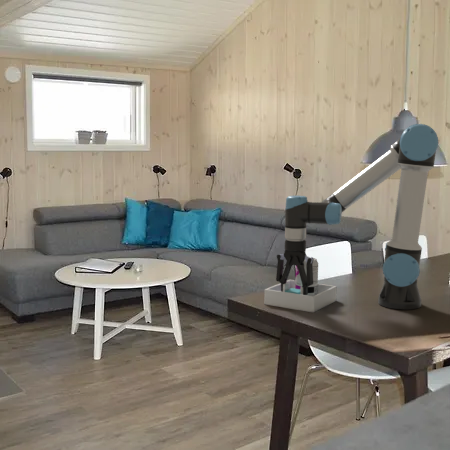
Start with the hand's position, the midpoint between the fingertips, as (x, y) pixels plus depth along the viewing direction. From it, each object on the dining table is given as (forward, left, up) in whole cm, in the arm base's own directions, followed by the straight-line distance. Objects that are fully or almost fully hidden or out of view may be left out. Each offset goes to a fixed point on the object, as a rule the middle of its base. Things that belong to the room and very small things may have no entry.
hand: (293, 302), depth 228 cm
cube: (0, 0, -1) cm, 1 cm away
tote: (0, -6, -1) cm, 6 cm away
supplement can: (0, -10, -1) cm, 10 cm away
